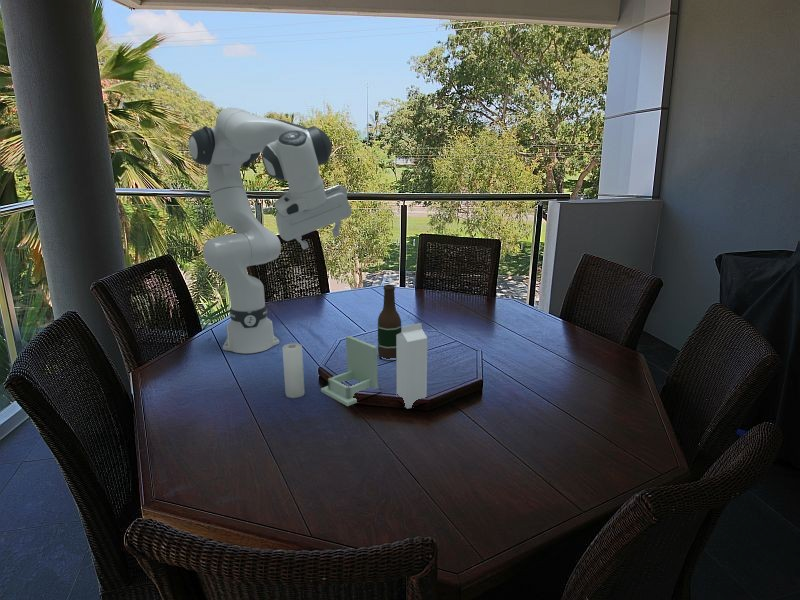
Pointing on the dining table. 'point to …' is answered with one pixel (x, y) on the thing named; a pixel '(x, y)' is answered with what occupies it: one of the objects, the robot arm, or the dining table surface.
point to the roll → (293, 370)
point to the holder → (355, 372)
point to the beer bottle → (388, 325)
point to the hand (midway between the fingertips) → (321, 241)
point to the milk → (411, 364)
